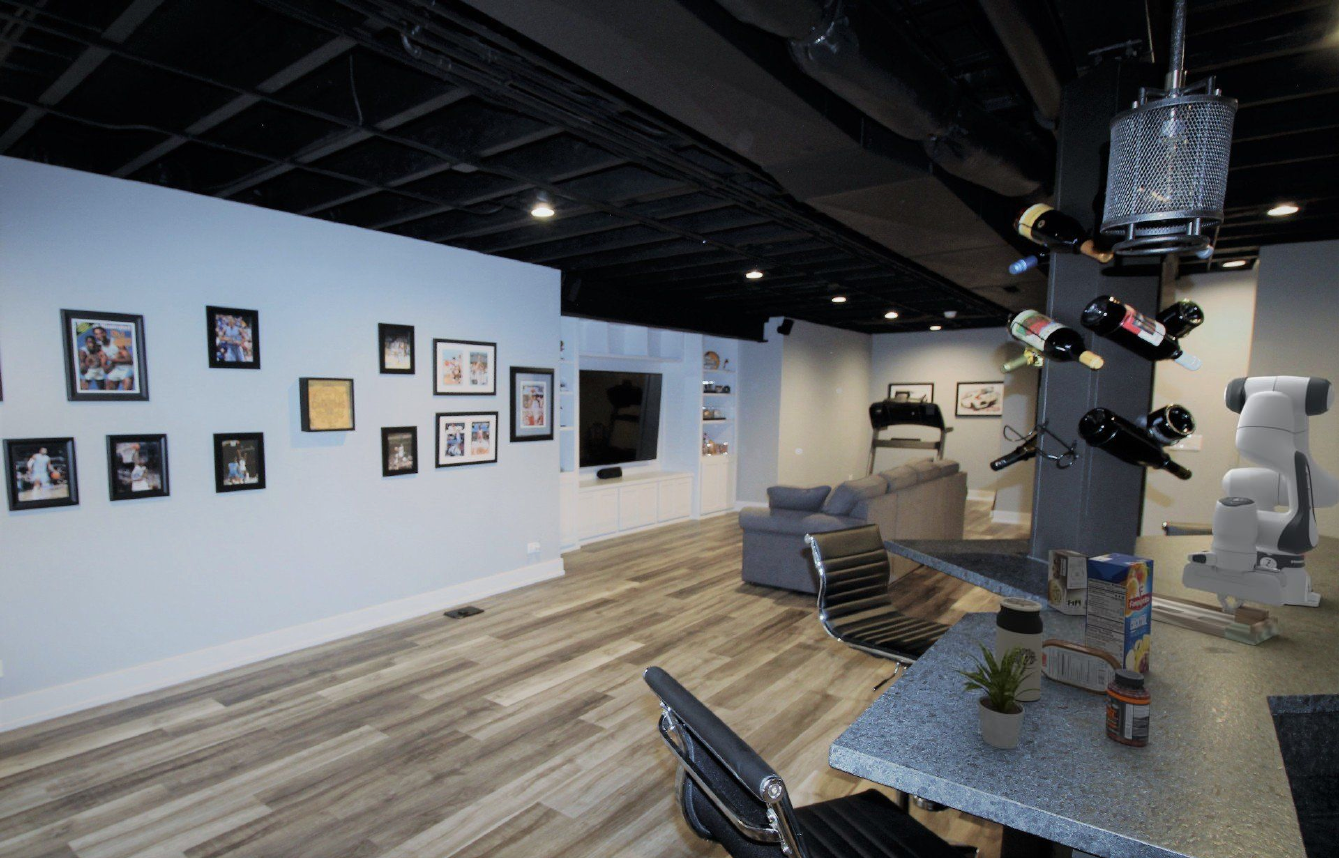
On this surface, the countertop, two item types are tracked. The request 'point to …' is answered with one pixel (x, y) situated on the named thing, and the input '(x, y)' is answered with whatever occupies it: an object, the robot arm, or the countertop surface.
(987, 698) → the house plant
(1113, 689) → the supplement bottle
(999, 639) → the travel mug
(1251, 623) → the walnut block
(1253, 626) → the box
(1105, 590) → the juice carton
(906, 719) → the countertop surface
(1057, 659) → the tin
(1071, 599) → the coffee box
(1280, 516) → the robot arm
